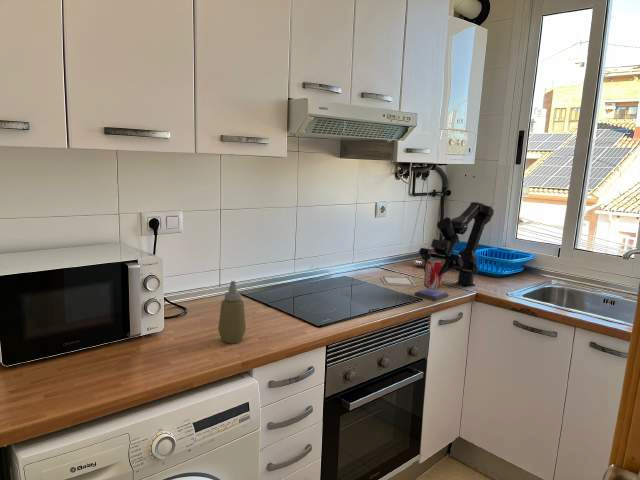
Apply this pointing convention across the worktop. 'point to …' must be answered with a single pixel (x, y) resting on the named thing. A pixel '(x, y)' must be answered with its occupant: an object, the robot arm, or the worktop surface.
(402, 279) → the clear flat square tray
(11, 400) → the worktop surface
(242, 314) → the squeeze bottle
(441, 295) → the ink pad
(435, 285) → the soda can
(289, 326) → the worktop surface
